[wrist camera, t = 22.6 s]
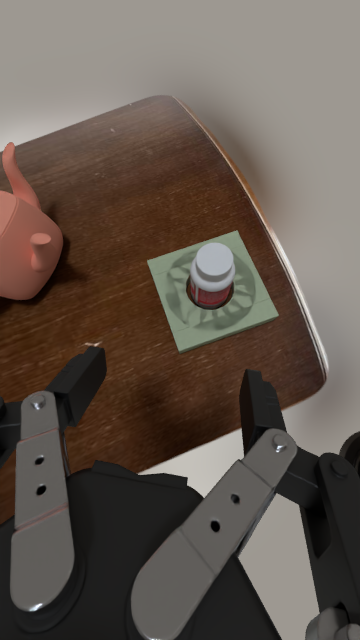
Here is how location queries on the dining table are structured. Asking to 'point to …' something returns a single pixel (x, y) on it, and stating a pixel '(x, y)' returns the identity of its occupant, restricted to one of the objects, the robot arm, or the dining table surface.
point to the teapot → (24, 237)
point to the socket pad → (210, 325)
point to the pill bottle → (212, 275)
